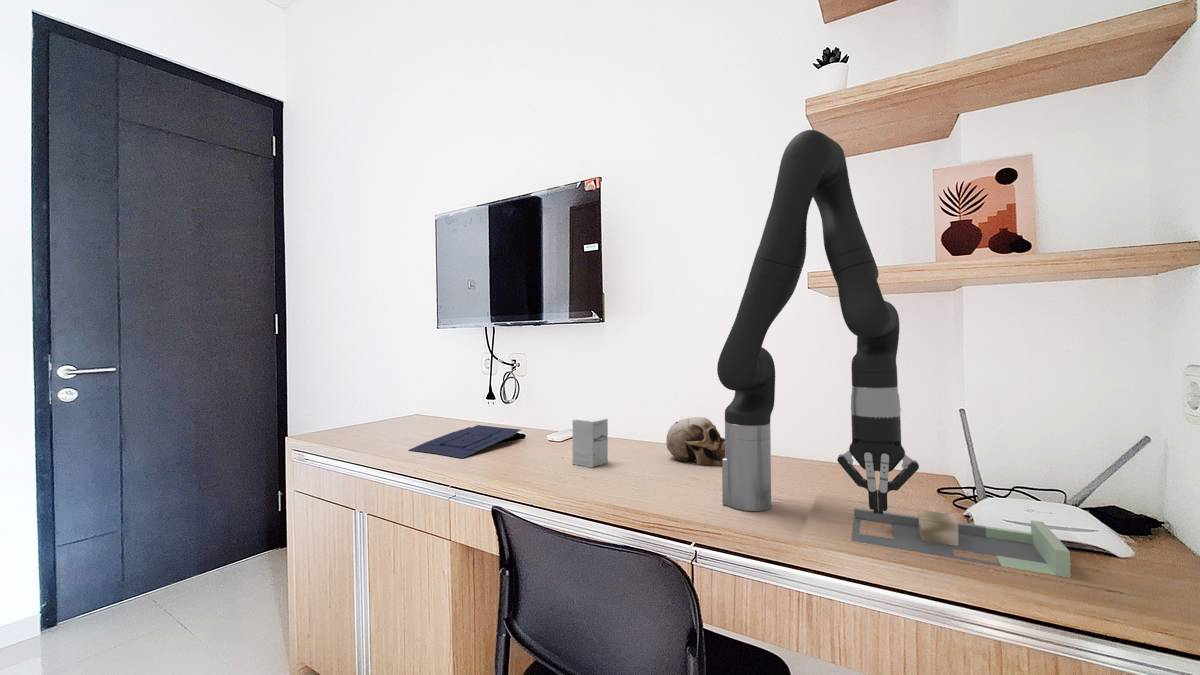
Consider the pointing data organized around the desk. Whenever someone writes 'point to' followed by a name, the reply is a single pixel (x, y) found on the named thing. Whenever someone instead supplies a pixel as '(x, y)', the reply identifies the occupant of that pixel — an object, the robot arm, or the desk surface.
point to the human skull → (696, 441)
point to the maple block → (938, 527)
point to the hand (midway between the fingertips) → (878, 512)
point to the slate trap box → (976, 543)
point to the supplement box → (590, 441)
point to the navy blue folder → (466, 441)
